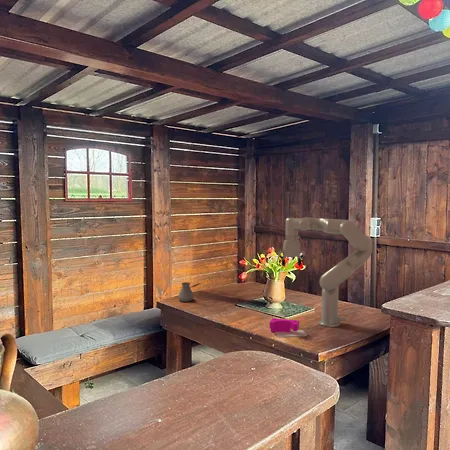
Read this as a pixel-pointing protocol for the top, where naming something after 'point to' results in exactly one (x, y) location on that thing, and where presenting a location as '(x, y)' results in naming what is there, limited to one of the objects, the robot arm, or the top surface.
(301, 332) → the mat
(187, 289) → the coffee pot
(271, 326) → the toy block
